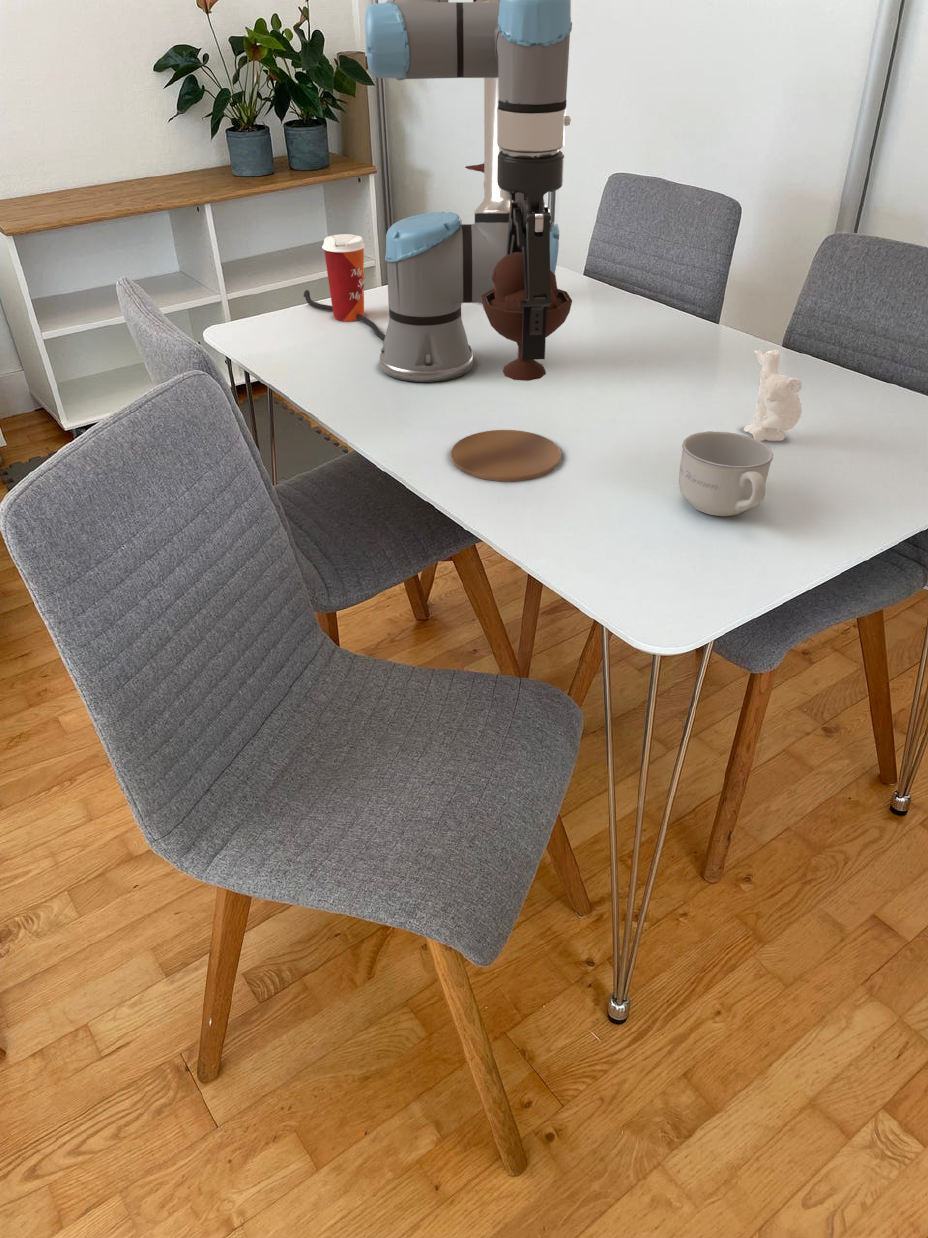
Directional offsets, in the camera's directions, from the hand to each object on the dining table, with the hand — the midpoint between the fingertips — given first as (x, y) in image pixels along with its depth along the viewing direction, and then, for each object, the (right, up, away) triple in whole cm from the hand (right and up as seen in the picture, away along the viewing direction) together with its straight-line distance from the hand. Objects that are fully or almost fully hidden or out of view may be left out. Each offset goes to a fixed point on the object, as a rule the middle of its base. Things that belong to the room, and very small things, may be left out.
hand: (525, 340), depth 125 cm
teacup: (+25, -21, 0) cm, 32 cm away
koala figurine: (+35, -9, +18) cm, 40 cm away
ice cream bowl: (0, -4, +2) cm, 4 cm away
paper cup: (-29, +22, +62) cm, 72 cm away
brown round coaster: (-2, -12, +13) cm, 18 cm away
